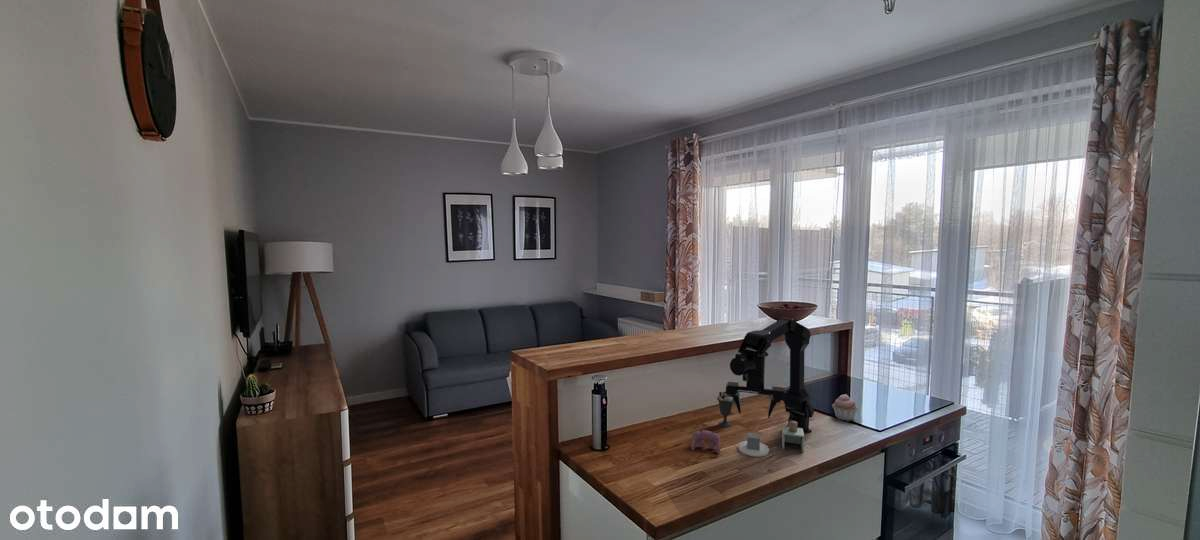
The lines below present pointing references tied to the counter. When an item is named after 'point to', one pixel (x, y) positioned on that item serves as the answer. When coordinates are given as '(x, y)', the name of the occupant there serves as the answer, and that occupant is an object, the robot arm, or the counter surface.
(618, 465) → the counter surface
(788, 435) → the sage camera
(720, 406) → the sundae
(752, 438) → the slate cube
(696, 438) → the video game controller
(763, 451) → the saucer
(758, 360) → the robot arm
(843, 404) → the cupcake
